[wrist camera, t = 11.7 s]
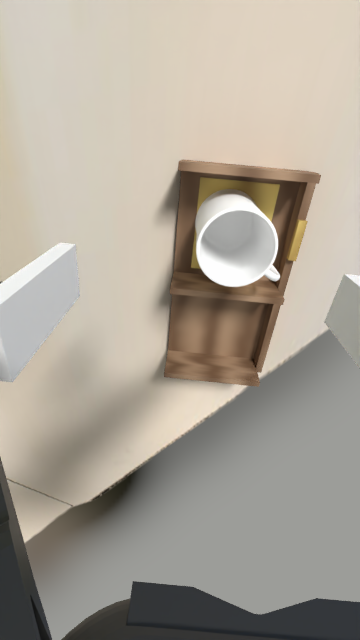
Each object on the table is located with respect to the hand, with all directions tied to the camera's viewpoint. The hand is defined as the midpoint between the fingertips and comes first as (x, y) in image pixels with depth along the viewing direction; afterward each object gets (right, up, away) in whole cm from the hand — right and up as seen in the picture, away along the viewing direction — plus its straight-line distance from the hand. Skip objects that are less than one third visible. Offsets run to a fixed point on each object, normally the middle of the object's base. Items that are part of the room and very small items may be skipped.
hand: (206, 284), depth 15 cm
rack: (+6, +5, +30) cm, 31 cm away
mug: (+6, +10, +25) cm, 28 cm away
